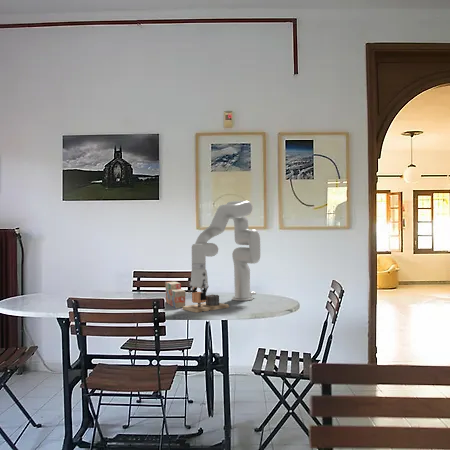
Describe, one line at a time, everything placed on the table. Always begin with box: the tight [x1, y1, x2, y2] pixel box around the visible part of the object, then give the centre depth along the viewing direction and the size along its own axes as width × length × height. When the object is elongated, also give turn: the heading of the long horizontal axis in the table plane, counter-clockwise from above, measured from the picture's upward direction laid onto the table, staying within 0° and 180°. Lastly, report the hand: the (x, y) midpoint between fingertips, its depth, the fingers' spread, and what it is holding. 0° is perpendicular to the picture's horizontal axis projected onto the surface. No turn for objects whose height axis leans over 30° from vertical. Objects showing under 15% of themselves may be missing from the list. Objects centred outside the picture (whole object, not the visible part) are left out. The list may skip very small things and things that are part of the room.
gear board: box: [182, 294, 230, 313], centre depth 263 cm, size 22×13×7 cm, turn 128°
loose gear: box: [191, 291, 206, 304], centre depth 260 cm, size 7×7×5 cm
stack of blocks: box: [165, 281, 186, 309], centre depth 277 cm, size 21×6×12 cm, turn 21°
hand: (198, 298), depth 260 cm, fingers closed on loose gear, 7 cm apart
